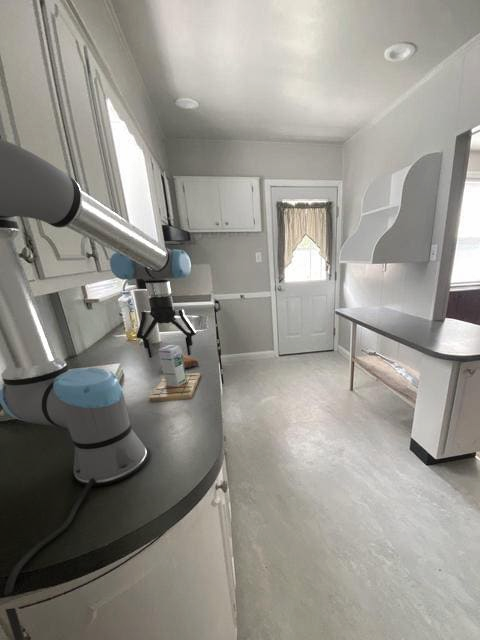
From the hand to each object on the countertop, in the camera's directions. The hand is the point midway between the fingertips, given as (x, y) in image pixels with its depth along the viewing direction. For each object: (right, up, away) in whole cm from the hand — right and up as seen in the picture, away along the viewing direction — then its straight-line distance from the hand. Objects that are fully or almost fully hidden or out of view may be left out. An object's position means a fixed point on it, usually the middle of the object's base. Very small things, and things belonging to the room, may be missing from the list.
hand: (170, 355), depth 111 cm
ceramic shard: (-8, -3, +28) cm, 29 cm away
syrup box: (0, -11, +5) cm, 12 cm away
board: (+1, -12, +5) cm, 13 cm away
